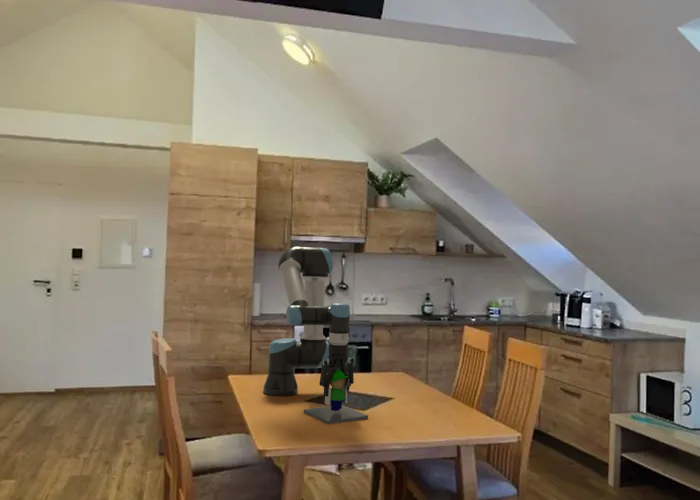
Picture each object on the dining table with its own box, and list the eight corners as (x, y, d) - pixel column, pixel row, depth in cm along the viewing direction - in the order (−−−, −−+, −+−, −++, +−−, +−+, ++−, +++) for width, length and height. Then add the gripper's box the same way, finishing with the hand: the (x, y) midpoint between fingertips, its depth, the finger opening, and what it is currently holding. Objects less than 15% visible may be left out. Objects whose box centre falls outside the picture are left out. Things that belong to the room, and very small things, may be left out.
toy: (344, 412, 228) (346, 372, 228) (322, 410, 229) (324, 370, 229) (349, 407, 236) (351, 368, 236) (327, 405, 238) (329, 366, 238)
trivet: (303, 412, 235) (303, 409, 235) (341, 407, 245) (342, 404, 245) (328, 424, 220) (328, 421, 220) (368, 418, 230) (368, 415, 230)
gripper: (321, 346, 224) (318, 408, 224) (365, 344, 235) (362, 403, 235) (311, 343, 230) (308, 403, 230) (354, 341, 242) (351, 398, 241)
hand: (335, 403), depth 233 cm, fingers closed on toy, 7 cm apart
